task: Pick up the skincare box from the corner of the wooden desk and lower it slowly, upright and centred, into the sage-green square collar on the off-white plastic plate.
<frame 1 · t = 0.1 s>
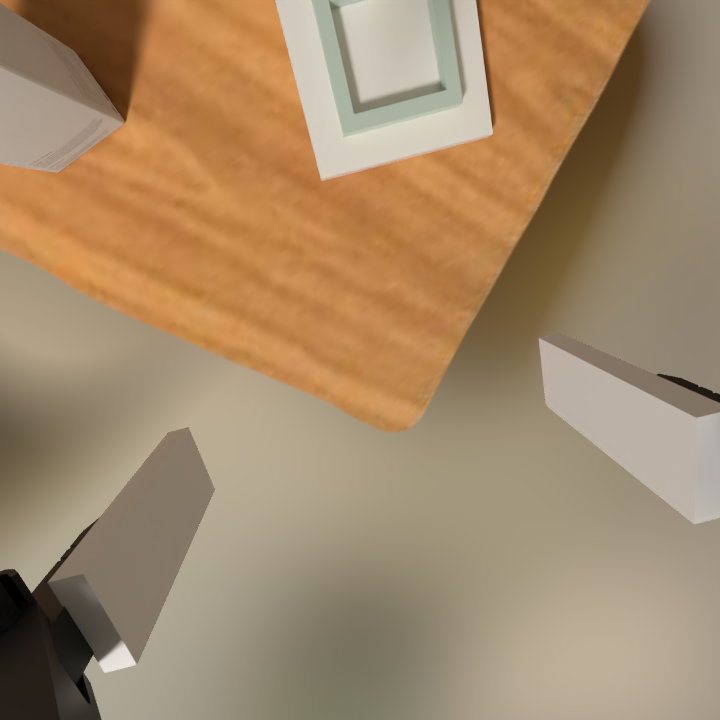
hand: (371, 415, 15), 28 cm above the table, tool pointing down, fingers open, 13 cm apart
collar plate: (385, 61, 35), on the table
skincare box 2: (68, 119, 35), on the table
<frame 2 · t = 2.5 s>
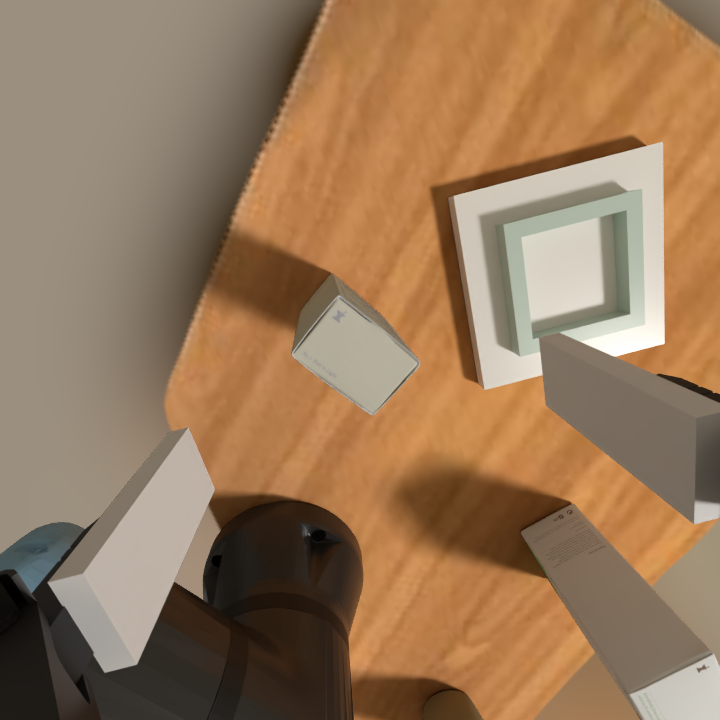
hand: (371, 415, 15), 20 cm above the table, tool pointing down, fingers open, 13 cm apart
collar plate: (556, 273, 34), on the table
skincare box 2: (560, 540, 43), on the table
squeeze bottle: (446, 703, 49), on the table
skincare box: (345, 315, 34), on the table
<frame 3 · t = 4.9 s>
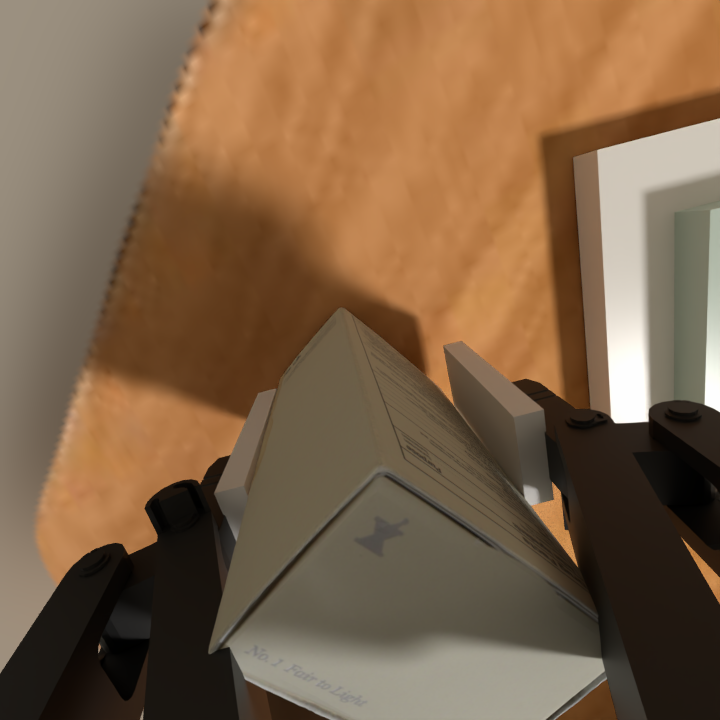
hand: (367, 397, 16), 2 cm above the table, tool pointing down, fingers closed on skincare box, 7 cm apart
skincare box: (365, 382, 18), on the table, touching gripper
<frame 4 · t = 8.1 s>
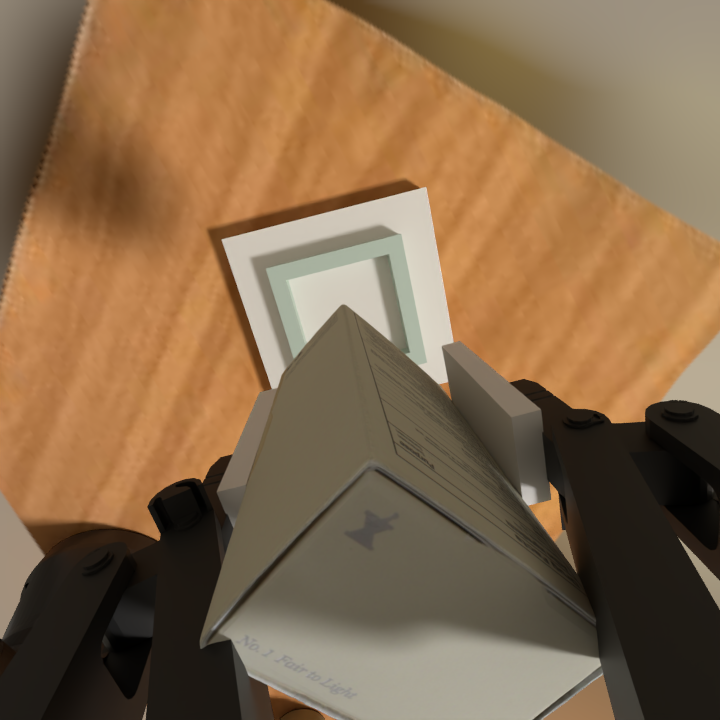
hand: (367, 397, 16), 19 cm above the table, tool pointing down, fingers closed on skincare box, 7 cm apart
collar plate: (348, 310, 35), on the table
skincare box: (366, 379, 18), point 17 cm above the table, touching gripper
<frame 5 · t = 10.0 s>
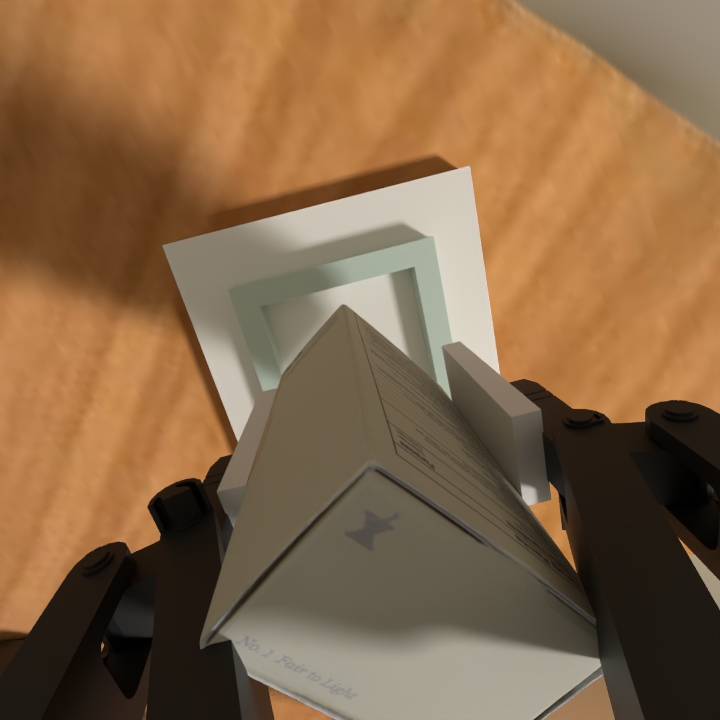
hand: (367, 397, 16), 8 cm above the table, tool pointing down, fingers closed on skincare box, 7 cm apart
collar plate: (352, 345, 24), on the table
skincare box: (366, 379, 18), point 6 cm above the table, touching gripper
when the fingers open (4 cm above the table, at t = 11.6 s): skincare box stays where it is, resting on collar plate.
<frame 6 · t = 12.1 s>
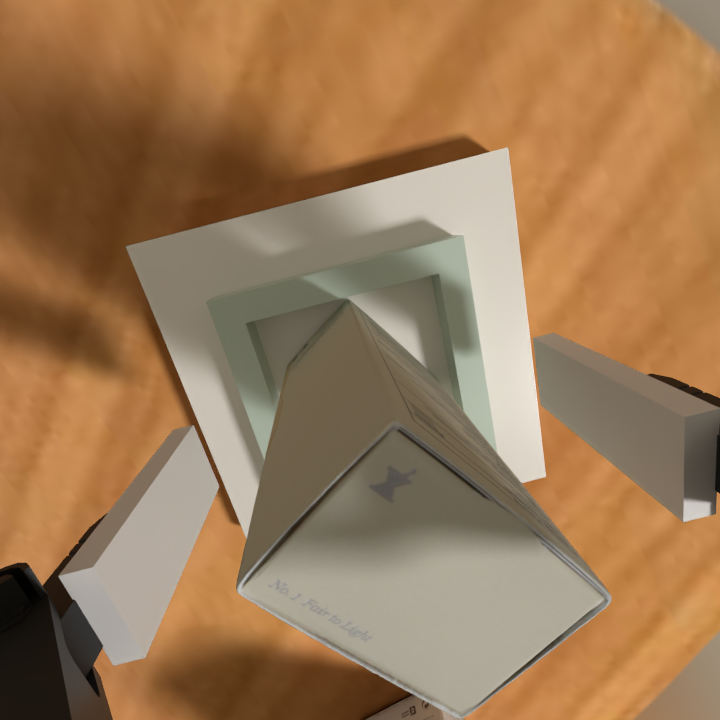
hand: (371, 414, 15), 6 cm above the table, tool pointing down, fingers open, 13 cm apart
collar plate: (360, 366, 20), on the table
skincare box: (367, 372, 19), point 1 cm above the table, touching collar plate
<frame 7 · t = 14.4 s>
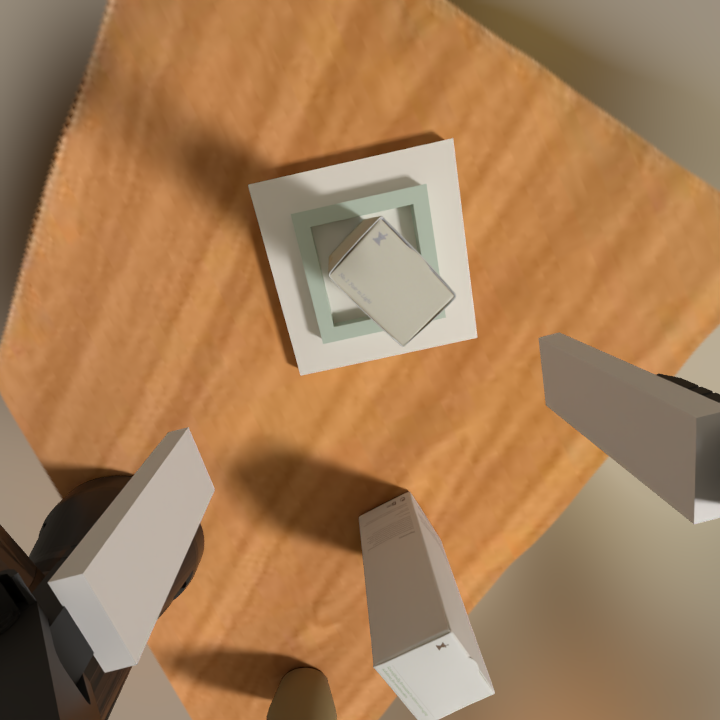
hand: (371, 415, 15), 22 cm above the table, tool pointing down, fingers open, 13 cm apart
collar plate: (369, 264, 35), on the table
skincare box 2: (402, 527, 44), on the table
squeeze bottle: (304, 680, 51), on the table
skincare box: (373, 264, 34), point 1 cm above the table, touching collar plate
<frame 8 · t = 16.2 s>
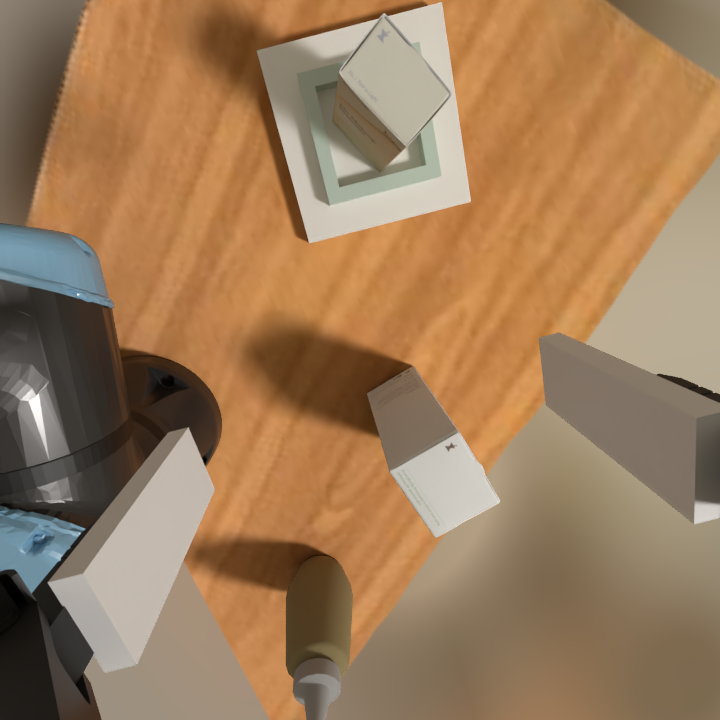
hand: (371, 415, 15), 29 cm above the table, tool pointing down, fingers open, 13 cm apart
collar plate: (369, 134, 38), on the table
skincare box 2: (408, 405, 47), on the table
squeeze bottle: (320, 571, 53), on the table
skincare box: (373, 130, 37), point 1 cm above the table, touching collar plate
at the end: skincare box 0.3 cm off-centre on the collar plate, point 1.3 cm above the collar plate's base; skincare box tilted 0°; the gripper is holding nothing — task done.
